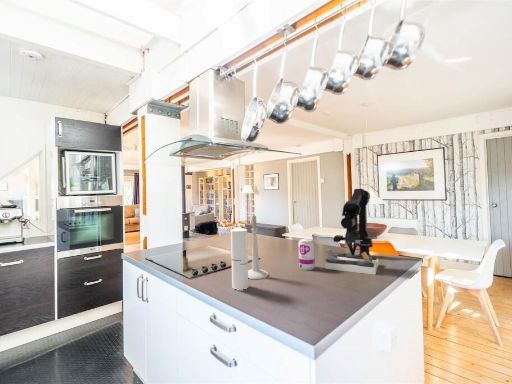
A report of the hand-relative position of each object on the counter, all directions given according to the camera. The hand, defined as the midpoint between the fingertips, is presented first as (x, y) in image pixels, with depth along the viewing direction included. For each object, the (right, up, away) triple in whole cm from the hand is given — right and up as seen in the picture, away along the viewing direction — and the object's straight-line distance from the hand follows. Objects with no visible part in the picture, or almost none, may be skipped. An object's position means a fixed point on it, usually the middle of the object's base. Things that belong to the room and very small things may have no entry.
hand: (352, 255), depth 138 cm
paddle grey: (-9, -2, +5) cm, 11 cm away
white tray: (0, -6, 0) cm, 6 cm away
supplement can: (-24, -7, 0) cm, 25 cm away
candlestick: (-52, -8, -10) cm, 53 cm away
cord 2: (+3, -3, +6) cm, 8 cm away
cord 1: (-4, -3, -6) cm, 8 cm away
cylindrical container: (-58, -8, -25) cm, 64 cm away
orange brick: (+7, -2, -4) cm, 8 cm away
